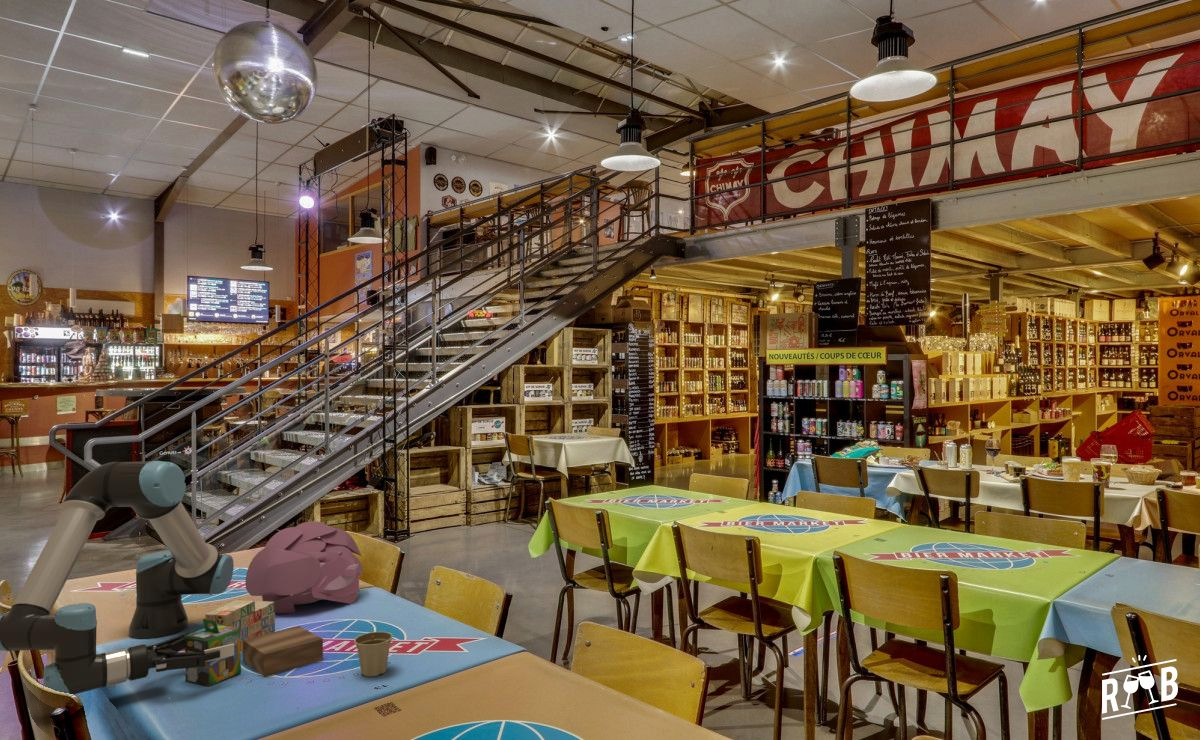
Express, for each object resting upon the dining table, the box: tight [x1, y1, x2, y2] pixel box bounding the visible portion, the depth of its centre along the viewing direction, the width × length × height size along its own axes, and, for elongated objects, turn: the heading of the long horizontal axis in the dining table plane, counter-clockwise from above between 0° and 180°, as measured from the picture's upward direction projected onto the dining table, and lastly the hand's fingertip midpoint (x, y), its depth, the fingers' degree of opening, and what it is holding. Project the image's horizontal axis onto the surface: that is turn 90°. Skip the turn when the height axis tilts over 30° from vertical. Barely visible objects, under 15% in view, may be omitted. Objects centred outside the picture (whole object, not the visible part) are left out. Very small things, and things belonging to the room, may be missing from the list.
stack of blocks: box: [204, 599, 276, 653], centre depth 201 cm, size 21×6×12 cm, turn 170°
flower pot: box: [353, 631, 394, 677], centre depth 181 cm, size 9×9×9 cm
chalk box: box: [184, 617, 242, 687], centre depth 179 cm, size 9×9×15 cm
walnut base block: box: [242, 625, 324, 678], centre depth 189 cm, size 15×15×6 cm
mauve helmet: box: [245, 520, 364, 614], centre depth 239 cm, size 36×24×29 cm
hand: (226, 642), depth 181 cm, fingers open, 13 cm apart
